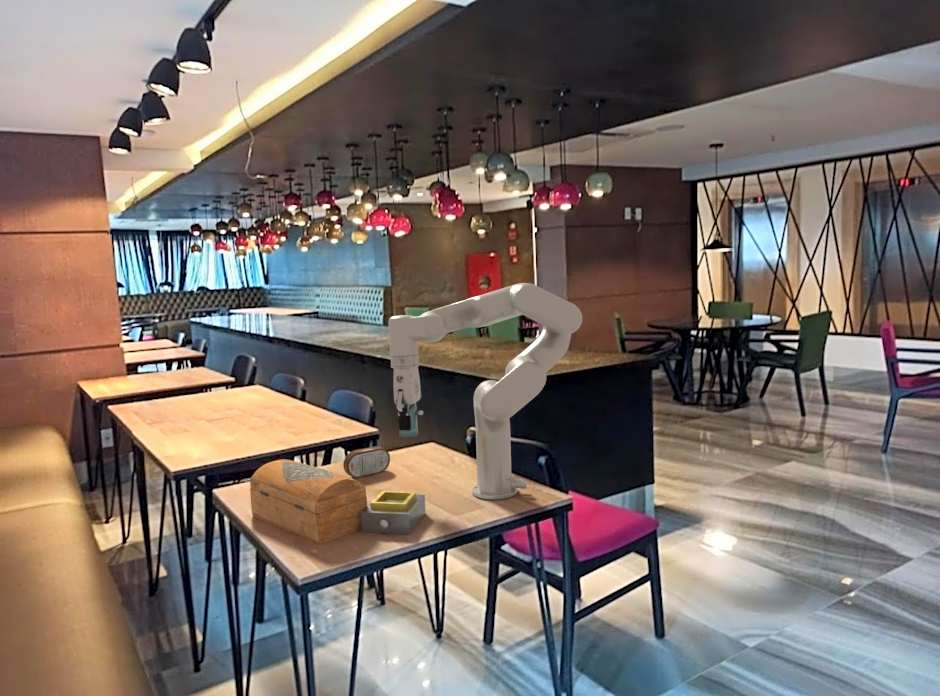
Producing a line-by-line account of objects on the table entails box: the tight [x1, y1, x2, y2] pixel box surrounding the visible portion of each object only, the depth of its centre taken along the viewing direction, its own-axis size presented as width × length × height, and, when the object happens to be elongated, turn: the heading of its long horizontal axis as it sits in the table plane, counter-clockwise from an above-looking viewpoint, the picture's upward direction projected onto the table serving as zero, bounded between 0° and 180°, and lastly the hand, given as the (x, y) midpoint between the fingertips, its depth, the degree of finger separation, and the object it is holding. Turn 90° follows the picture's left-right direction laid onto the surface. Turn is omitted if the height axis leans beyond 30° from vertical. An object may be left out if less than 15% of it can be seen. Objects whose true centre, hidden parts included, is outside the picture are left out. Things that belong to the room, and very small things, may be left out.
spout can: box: [398, 404, 424, 438], centre depth 186 cm, size 7×5×8 cm
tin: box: [343, 445, 391, 479], centre depth 212 cm, size 15×3×8 cm, turn 125°
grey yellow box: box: [361, 490, 426, 535], centre depth 171 cm, size 12×16×6 cm
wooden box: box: [249, 458, 368, 545], centre depth 175 cm, size 30×16×14 cm, turn 47°
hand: (408, 426), depth 187 cm, fingers closed on spout can, 5 cm apart
